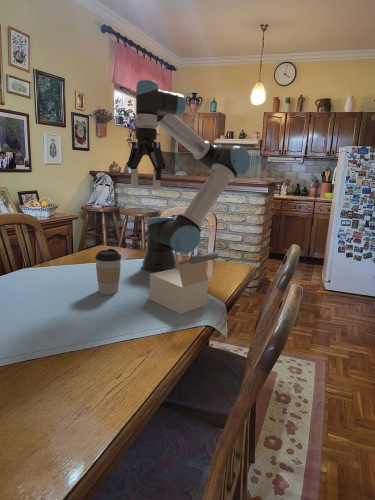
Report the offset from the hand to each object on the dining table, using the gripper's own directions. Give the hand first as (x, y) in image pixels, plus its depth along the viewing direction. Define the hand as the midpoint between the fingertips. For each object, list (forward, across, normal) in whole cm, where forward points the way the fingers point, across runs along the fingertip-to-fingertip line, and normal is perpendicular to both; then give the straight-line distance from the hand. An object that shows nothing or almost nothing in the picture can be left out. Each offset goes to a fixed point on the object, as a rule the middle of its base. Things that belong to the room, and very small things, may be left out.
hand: (145, 188), depth 132 cm
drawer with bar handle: (+24, +30, -3) cm, 39 cm away
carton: (+37, +24, -3) cm, 44 cm away
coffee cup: (+37, +1, -16) cm, 40 cm away
